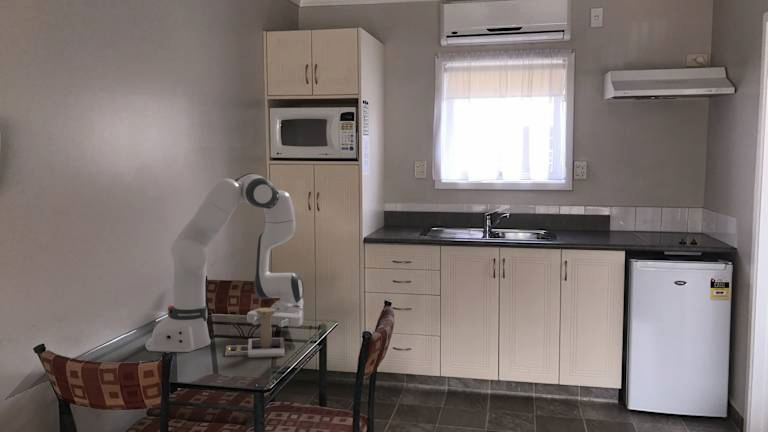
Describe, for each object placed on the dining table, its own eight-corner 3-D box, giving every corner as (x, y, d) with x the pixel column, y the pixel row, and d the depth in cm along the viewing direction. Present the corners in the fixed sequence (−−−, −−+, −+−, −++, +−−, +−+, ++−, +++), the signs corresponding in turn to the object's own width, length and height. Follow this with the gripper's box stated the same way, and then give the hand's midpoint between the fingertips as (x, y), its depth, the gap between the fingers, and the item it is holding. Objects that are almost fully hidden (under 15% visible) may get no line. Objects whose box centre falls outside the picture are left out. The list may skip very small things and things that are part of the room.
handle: (273, 353, 231) (273, 312, 229) (255, 352, 231) (255, 311, 229) (276, 348, 235) (276, 308, 233) (259, 347, 236) (259, 307, 234)
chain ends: (224, 358, 225) (224, 351, 224) (226, 346, 237) (226, 339, 236) (284, 356, 228) (284, 348, 228) (283, 344, 240) (283, 337, 240)
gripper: (255, 303, 248) (239, 313, 235) (306, 306, 244) (294, 317, 231) (255, 319, 249) (240, 330, 235) (306, 323, 245) (294, 334, 231)
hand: (267, 323), depth 233 cm, fingers open, 8 cm apart
